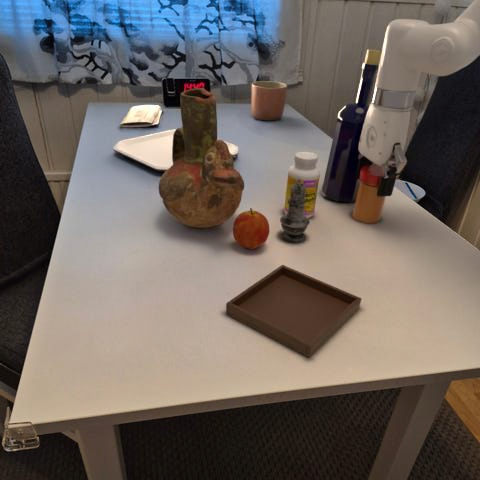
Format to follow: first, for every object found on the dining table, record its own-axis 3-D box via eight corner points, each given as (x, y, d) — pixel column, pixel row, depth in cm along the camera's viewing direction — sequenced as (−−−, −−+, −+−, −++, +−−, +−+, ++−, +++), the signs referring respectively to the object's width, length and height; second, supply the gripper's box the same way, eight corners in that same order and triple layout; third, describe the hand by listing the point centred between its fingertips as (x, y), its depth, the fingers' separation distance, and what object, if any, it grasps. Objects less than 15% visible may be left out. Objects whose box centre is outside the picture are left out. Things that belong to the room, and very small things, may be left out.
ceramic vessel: (192, 262, 81) (187, 115, 65) (143, 207, 98) (130, 81, 83) (271, 242, 88) (284, 105, 72) (212, 194, 105) (212, 76, 90)
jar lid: (378, 187, 90) (380, 178, 89) (352, 178, 93) (354, 169, 92) (396, 180, 93) (398, 171, 92) (371, 171, 97) (373, 163, 96)
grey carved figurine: (309, 232, 92) (317, 175, 84) (304, 245, 87) (312, 186, 80) (281, 228, 93) (287, 171, 85) (275, 240, 88) (281, 181, 81)
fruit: (253, 234, 90) (255, 196, 85) (275, 248, 86) (279, 210, 81) (225, 243, 87) (225, 205, 82) (246, 258, 82) (248, 219, 78)
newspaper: (158, 128, 146) (156, 120, 145) (121, 131, 147) (119, 123, 145) (166, 110, 164) (164, 103, 162) (133, 113, 164) (131, 105, 163)
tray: (359, 308, 71) (361, 298, 70) (309, 357, 62) (311, 346, 61) (281, 274, 79) (282, 264, 77) (225, 314, 69) (226, 303, 68)
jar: (384, 216, 99) (395, 174, 93) (372, 225, 95) (383, 182, 89) (360, 208, 102) (369, 167, 96) (347, 217, 98) (356, 174, 92)
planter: (267, 124, 155) (269, 89, 148) (243, 116, 162) (244, 83, 155) (291, 118, 162) (294, 85, 155) (267, 111, 169) (269, 79, 162)
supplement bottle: (297, 223, 95) (305, 162, 87) (277, 211, 99) (283, 153, 91) (320, 215, 98) (329, 157, 90) (299, 205, 102) (307, 148, 94)
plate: (184, 133, 143) (184, 126, 141) (248, 157, 127) (249, 149, 126) (104, 152, 126) (103, 144, 125) (167, 181, 111) (167, 173, 109)
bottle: (360, 193, 110) (397, 52, 92) (357, 205, 102) (397, 55, 85) (323, 185, 111) (353, 46, 94) (318, 197, 104) (349, 48, 87)
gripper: (354, 88, 89) (339, 173, 100) (398, 110, 76) (376, 204, 87) (387, 88, 91) (369, 171, 102) (436, 109, 78) (410, 202, 89)
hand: (372, 186), depth 94 cm, fingers open, 9 cm apart
